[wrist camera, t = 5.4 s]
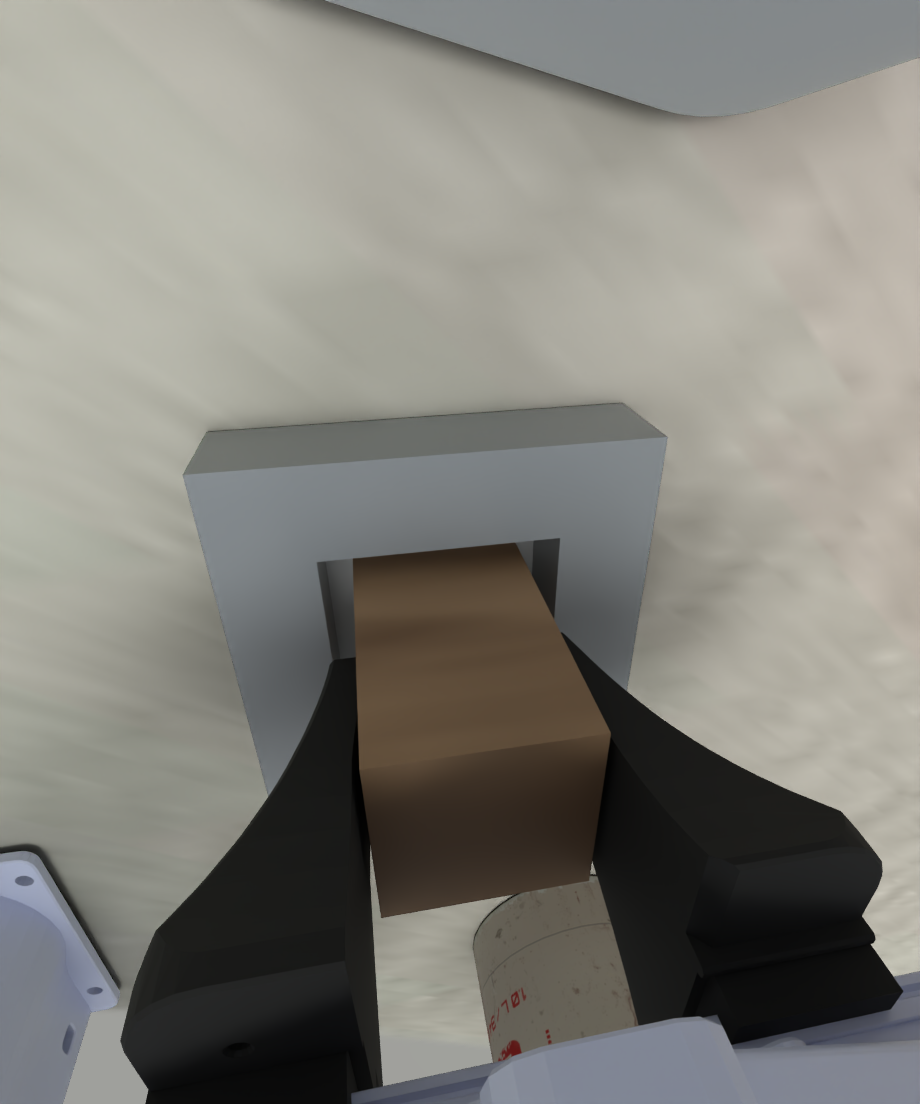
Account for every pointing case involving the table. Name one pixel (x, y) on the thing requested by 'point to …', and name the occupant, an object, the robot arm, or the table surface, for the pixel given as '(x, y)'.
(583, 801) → the wooden rectangular block
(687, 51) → the plastic bottle
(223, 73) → the table surface
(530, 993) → the thermos bottle
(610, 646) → the grey flat square frame
